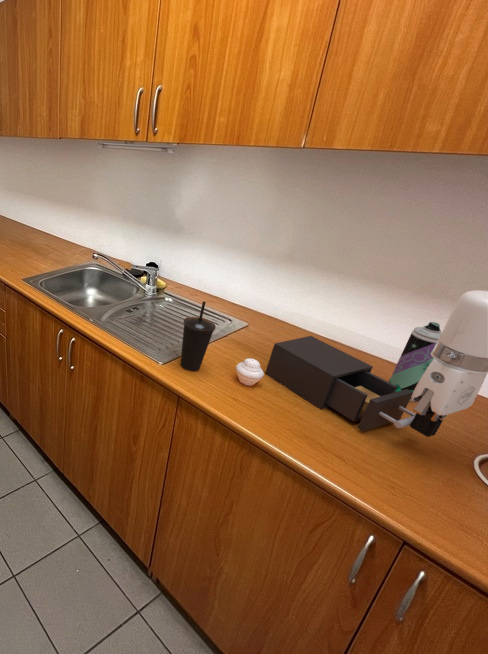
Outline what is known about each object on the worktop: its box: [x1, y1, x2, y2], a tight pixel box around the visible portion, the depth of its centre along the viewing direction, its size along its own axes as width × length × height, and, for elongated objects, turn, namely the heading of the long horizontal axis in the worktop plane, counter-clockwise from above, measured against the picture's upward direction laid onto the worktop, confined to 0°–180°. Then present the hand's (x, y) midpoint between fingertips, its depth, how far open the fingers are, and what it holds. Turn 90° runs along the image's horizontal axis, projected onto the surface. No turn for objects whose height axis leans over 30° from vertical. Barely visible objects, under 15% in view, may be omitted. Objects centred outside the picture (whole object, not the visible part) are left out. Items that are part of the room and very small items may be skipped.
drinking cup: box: [180, 301, 217, 372], centre depth 106 cm, size 8×8×20 cm
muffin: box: [235, 357, 265, 387], centre depth 102 cm, size 6×6×7 cm
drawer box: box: [264, 335, 374, 410], centre depth 99 cm, size 15×13×10 cm
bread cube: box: [355, 386, 380, 416], centre depth 90 cm, size 5×5×4 cm
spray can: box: [388, 321, 442, 402], centre depth 94 cm, size 6×6×20 cm
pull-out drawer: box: [325, 371, 416, 432], centre depth 90 cm, size 18×11×8 cm, turn 16°
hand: (421, 431), depth 80 cm, fingers closed
